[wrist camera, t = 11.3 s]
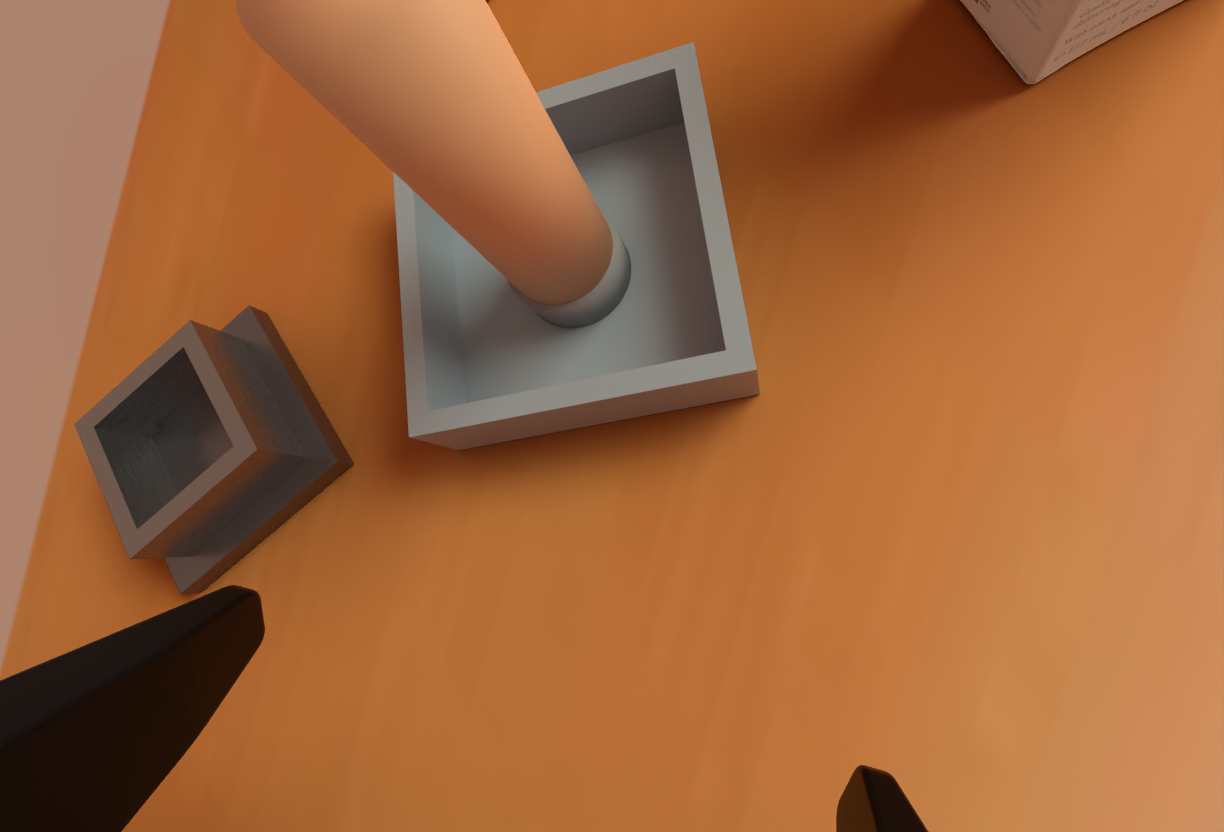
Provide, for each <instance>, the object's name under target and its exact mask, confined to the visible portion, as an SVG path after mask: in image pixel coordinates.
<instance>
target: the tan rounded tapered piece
mask: <svg viewBox="0 0 1224 832" xmlns="http://www.w3.org/2000/svg"><path fill="white" fill-rule="evenodd" d="M236 5H237V11H238V14H239V17H240V20H241V23H242V25H243V26H244V28H245V30H246V32H247V33H248V34H249V35H250V37H251V38H252V39H253V40H254V41H255V42H256V43H257V44H258V45H259V46H260V47H262V48H263V49H264V50H265V51H266V52H267V53H268V54H269V55H270V56H271V57H272V58H273V59H274V60H275V61H276V62H277V63H278V64H280V65H281V66H282V67H283V68H284V69H285V70H286V71H287V72H288V73H289V74H290V75H291V76H292V77H293V78H294V79H295V80H297V81H298V82H299V83H300V84H301V85H302V86H303V87H304V88H305V89H306V90H307V91H308V92H309V93H310V94H311V95H312V96H314V97H315V98H316V99H317V100H318V101H319V102H320V103H321V104H322V105H323V106H324V107H325V108H326V109H327V110H328V111H329V112H330V113H332V114H333V115H334V116H335V117H336V118H337V119H338V120H339V121H340V122H341V123H342V124H343V125H344V126H345V127H346V128H347V129H349V130H350V131H351V132H352V133H353V134H354V135H355V136H356V137H357V138H358V139H359V140H360V141H361V142H362V143H363V144H364V145H366V146H367V147H368V148H369V149H370V150H371V151H372V152H373V153H374V154H375V155H376V156H377V157H378V158H379V159H380V160H381V161H382V162H384V163H385V164H386V165H387V166H388V167H389V168H390V169H391V170H392V171H393V172H394V173H395V174H396V175H397V176H398V177H399V178H401V179H402V180H403V181H404V182H405V183H406V184H407V185H408V186H409V187H410V188H411V189H412V190H413V191H414V192H415V193H416V194H417V195H419V196H420V197H421V198H422V199H423V200H424V201H425V202H426V203H427V204H428V205H429V206H430V207H431V208H432V209H433V210H434V211H436V212H437V213H438V214H439V215H440V216H441V217H442V218H443V219H444V220H445V221H446V222H447V223H448V224H449V225H450V226H451V227H453V228H454V229H455V230H456V231H457V232H458V233H459V234H460V235H461V236H462V237H463V238H464V239H465V240H466V241H467V242H468V243H469V244H471V245H472V246H473V247H474V248H475V249H476V250H477V251H478V252H479V253H480V254H481V255H482V256H483V257H484V258H485V259H486V260H488V261H489V262H490V263H491V264H492V265H493V266H494V267H495V268H496V269H497V270H498V271H499V272H500V273H501V274H502V275H503V276H505V277H506V279H507V281H508V283H509V285H510V287H511V289H512V290H513V292H514V293H515V294H516V295H517V296H518V297H519V298H520V299H521V300H522V301H523V302H524V303H525V304H526V305H528V306H529V307H530V308H531V309H532V310H533V311H534V312H535V313H536V314H537V315H539V316H540V317H541V318H542V319H543V320H545V321H546V322H548V323H550V324H552V325H555V326H558V327H562V328H581V327H585V326H589V325H592V324H594V323H596V322H598V321H600V320H602V319H603V318H605V317H606V316H608V315H609V314H610V313H611V312H612V311H613V310H614V309H615V308H616V307H617V306H618V305H619V303H620V302H621V301H622V299H623V297H624V295H625V294H626V292H627V289H628V286H629V283H630V278H631V260H630V256H629V253H628V250H627V248H626V246H625V244H624V242H623V240H622V238H621V236H620V234H619V233H618V231H617V229H616V227H615V225H614V223H613V221H612V219H611V218H610V216H609V215H608V214H607V213H606V212H605V211H604V210H603V209H602V208H601V207H600V206H599V205H597V204H596V202H595V200H594V198H593V196H592V194H591V193H590V191H589V189H588V187H587V185H586V183H585V182H584V180H583V178H582V176H581V174H580V172H579V171H578V169H577V167H576V165H575V163H574V161H573V160H572V158H571V156H570V154H569V152H568V151H567V149H566V147H565V145H564V143H563V141H562V140H561V138H560V136H559V134H558V132H557V130H556V129H555V127H554V125H553V123H552V121H551V119H550V118H549V116H548V114H547V112H546V110H545V108H544V107H543V105H542V103H541V101H540V99H539V97H538V96H537V94H536V92H535V90H534V88H533V86H532V85H531V83H530V81H529V79H528V77H527V75H526V74H525V72H524V70H523V68H522V66H521V64H520V63H519V61H518V59H517V57H516V55H515V54H514V52H513V50H512V48H511V46H510V44H509V43H508V41H507V39H506V37H505V35H504V33H503V32H502V30H501V28H500V26H499V24H498V22H497V21H496V19H495V17H494V15H493V13H492V11H491V10H490V8H489V6H488V4H487V2H486V0H236Z"/></svg>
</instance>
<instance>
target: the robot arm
mask: <svg viewBox="0 0 1224 832" xmlns="http://www.w3.org/2000/svg"><path fill="white" fill-rule="evenodd" d="M264 633H265V625H264V619H263V612H262V605H261V598H260V595H259V594H258V593H257V592H256V591H254V590H251V589H248V588H244V587H241V586H236V585H231V586H227V587H224V588H221V589H219V590H217V591H214V592H212V593H209V594H207V595H205V596H202V597H200V598H197V599H195V600H193V601H190V602H188V603H185V604H183V605H181V606H178V607H176V608H173V609H171V610H169V611H166V612H164V613H161V614H159V615H157V616H154V617H152V618H149V619H147V620H145V621H142V622H140V623H137V624H135V625H133V626H130V627H128V628H126V629H123V630H121V631H118V632H116V633H114V634H111V635H109V636H106V637H104V638H102V639H99V640H97V641H94V642H92V643H90V644H87V645H85V646H82V647H80V648H78V649H75V650H73V651H70V652H68V653H66V654H63V655H61V656H58V657H56V658H54V659H51V660H49V661H46V662H44V663H42V664H39V665H37V666H34V667H32V668H30V669H27V670H25V671H22V672H20V673H18V674H15V675H13V676H10V677H8V678H6V679H3V680H1V681H0V832H121V831H122V830H123V829H124V828H125V826H126V825H127V824H128V823H129V822H130V820H131V819H132V818H133V817H134V815H135V814H136V813H137V812H138V811H139V809H140V808H141V807H142V806H143V804H144V803H145V802H146V801H147V799H148V798H149V797H150V796H151V795H152V793H153V792H154V791H155V790H156V788H157V787H158V786H159V785H160V783H161V782H162V781H163V780H164V779H165V777H166V776H167V775H168V774H169V772H170V771H171V770H172V769H173V768H174V766H175V765H176V764H177V763H178V761H179V760H180V759H181V758H182V756H183V755H184V754H185V753H186V751H187V750H188V749H189V748H190V746H191V745H192V744H193V742H194V741H195V740H196V738H197V737H198V736H199V734H200V733H201V732H202V730H203V729H204V727H205V726H206V725H207V723H208V722H209V720H210V719H211V717H212V716H213V714H214V713H215V711H216V710H217V708H218V707H219V705H220V704H221V702H222V701H223V699H224V698H225V697H226V695H227V694H228V692H229V691H230V689H231V688H232V686H233V685H234V683H235V682H236V680H237V679H238V677H239V676H240V674H241V673H242V671H243V670H244V668H245V667H246V666H247V664H248V663H249V661H250V660H251V658H252V657H253V655H254V654H255V652H256V651H257V649H258V648H259V646H260V644H261V642H262V640H263V637H264ZM836 832H928V830H927V829H926V827H925V826H924V824H923V822H922V821H921V819H920V818H919V816H918V815H917V813H916V811H915V810H914V808H913V807H912V805H911V803H910V802H909V800H908V799H907V797H906V796H905V794H904V792H903V791H902V789H901V788H900V786H899V784H898V783H897V781H896V780H895V778H894V777H893V776H892V775H891V774H889V773H888V772H886V771H883V770H879V769H876V768H872V767H869V766H865V765H860V766H858V767H857V768H856V769H855V771H854V772H853V774H852V776H851V778H850V780H849V782H848V784H847V786H846V788H845V790H844V792H843V794H842V796H841V798H840V800H839V803H838V808H837V817H836Z"/></svg>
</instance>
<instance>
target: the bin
mask: <svg viewBox="0 0 1224 832" xmlns="http://www.w3.org/2000/svg"><path fill="white" fill-rule="evenodd" d="M536 94H537V96H538V97H539V99H540V101H541V103H542V105H543V107H544V108H545V110H546V112H547V114H548V116H549V118H550V119H551V121H552V123H553V125H554V127H555V129H556V130H557V132H558V134H559V136H560V138H561V140H562V141H563V143H564V145H565V147H566V149H567V151H568V152H569V154H570V156H571V158H572V160H573V161H574V163H575V165H576V167H577V169H578V171H579V172H580V174H581V176H582V178H583V180H584V182H585V183H586V185H587V187H588V189H589V191H590V193H591V194H592V196H593V198H594V200H595V202H596V204H597V205H599V206H600V207H601V208H602V209H603V210H604V211H605V212H606V213H607V214H608V215H609V216H610V218H611V219H612V221H613V223H614V225H615V227H616V229H617V231H618V233H619V234H620V236H621V238H622V240H623V242H624V244H625V246H626V248H627V250H628V253H629V256H630V260H631V278H630V283H629V286H628V289H627V292H626V294H625V295H624V297H623V299H622V301H621V302H620V303H619V305H618V306H617V307H616V308H615V309H614V310H613V311H612V312H611V313H610V314H609V315H608V316H606V317H605V318H603V319H602V320H600V321H598V322H596V323H594V324H592V325H589V326H585V327H581V328H562V327H558V326H555V325H552V324H550V323H548V322H546V321H545V320H543V319H542V318H541V317H540V316H539V315H537V314H536V313H535V312H534V311H533V310H532V309H531V308H530V307H529V306H528V305H526V304H525V303H524V302H523V301H522V300H521V299H520V298H519V297H518V296H517V295H516V294H515V293H514V292H513V290H512V289H511V287H510V285H509V283H508V281H507V279H506V277H505V276H503V275H502V274H501V273H500V272H499V271H498V270H497V269H496V268H495V267H494V266H493V265H492V264H491V263H490V262H489V261H488V260H486V259H485V258H484V257H483V256H482V255H481V254H480V253H479V252H478V251H477V250H476V249H475V248H474V247H473V246H472V245H471V244H469V243H468V242H467V241H466V240H465V239H464V238H463V237H462V236H461V235H460V234H459V233H458V232H457V231H456V230H455V229H454V228H453V227H451V226H450V225H449V224H448V223H447V222H446V221H445V220H444V219H443V218H442V217H441V216H440V215H439V214H438V213H437V212H436V211H434V210H433V209H432V208H431V207H430V206H429V205H428V204H427V203H426V202H425V201H424V200H423V199H422V198H421V197H420V196H419V195H417V194H416V193H415V192H414V191H413V190H412V189H411V188H410V187H409V186H408V185H407V184H406V183H405V182H404V181H403V180H402V179H401V178H399V177H398V176H397V175H396V174H395V173H394V172H393V177H394V194H395V211H396V228H397V245H398V262H399V279H400V296H401V313H402V330H403V347H404V364H405V381H406V398H407V415H408V432H409V438H413V439H417V440H420V441H424V442H428V443H432V444H436V445H440V446H444V447H448V448H452V449H455V450H463V449H468V448H474V447H479V446H484V445H490V444H495V443H500V442H506V441H511V440H517V439H522V438H527V437H533V436H538V435H544V434H549V433H554V432H560V431H565V430H570V429H576V428H581V427H587V426H592V425H597V424H603V423H608V422H614V421H619V420H624V419H630V418H635V417H640V416H646V415H651V414H657V413H662V412H667V411H673V410H678V409H683V408H689V407H694V406H700V405H705V404H710V403H716V402H721V401H727V400H732V399H737V398H743V397H748V396H753V395H759V394H760V392H759V384H758V376H757V368H756V363H755V358H754V353H753V348H752V342H751V337H750V332H749V327H748V322H747V316H746V311H745V306H744V301H743V296H742V290H741V285H740V280H739V275H738V270H737V264H736V259H735V254H734V249H733V244H732V238H731V233H730V228H729V223H728V217H727V212H726V207H725V202H724V197H723V191H722V186H721V181H720V176H719V171H718V165H717V160H716V155H715V150H714V145H713V139H712V134H711V129H710V124H709V119H708V113H707V108H706V103H705V98H704V93H703V87H702V82H701V77H700V72H699V67H698V61H697V56H696V51H695V46H694V42H692V43H688V44H685V45H682V46H679V47H676V48H673V49H670V50H667V51H664V52H660V53H657V54H654V55H651V56H648V57H645V58H642V59H639V60H636V61H632V62H629V63H626V64H623V65H620V66H617V67H614V68H611V69H608V70H604V71H601V72H598V73H595V74H592V75H589V76H586V77H583V78H580V79H576V80H573V81H570V82H567V83H564V84H561V85H558V86H555V87H552V88H548V89H545V90H542V91H539V92H536Z"/></svg>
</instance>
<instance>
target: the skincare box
mask: <svg viewBox="0 0 1224 832" xmlns="http://www.w3.org/2000/svg"><path fill="white" fill-rule="evenodd" d="M960 1H961V2H962V3H963V4H964V5H965V7H966V8H967V9H968V10H969V12H970V13H971V14H972V15H973V17H974V18H975V19H976V20H977V22H978V23H979V24H980V26H981V27H982V28H983V29H984V31H985V32H986V33H987V34H988V36H989V38H990V39H991V40H992V42H993V43H994V45H995V46H996V47H997V48H998V50H999V51H1000V52H1001V53H1002V54H1003V56H1004V57H1005V58H1006V60H1007V61H1008V62H1009V63H1010V64H1011V66H1012V67H1013V68H1014V69H1015V70H1016V72H1017V73H1018V74H1019V76H1020V77H1021V78H1022V80H1023V81H1024V82H1025V83H1026V84H1036V83H1037V82H1039V81H1040V80H1042V79H1044V78H1045V77H1047V76H1048V75H1050V74H1052V73H1053V72H1055V71H1056V70H1058V69H1059V68H1061V67H1062V66H1064V65H1065V64H1067V63H1068V62H1070V61H1072V60H1074V59H1075V58H1077V57H1079V56H1081V55H1083V54H1084V53H1086V52H1088V51H1090V50H1091V49H1093V48H1095V47H1097V46H1099V45H1100V44H1102V43H1104V42H1106V41H1108V40H1109V39H1111V38H1113V37H1115V36H1117V35H1118V34H1120V33H1122V32H1124V31H1126V30H1128V29H1130V28H1132V27H1133V26H1135V25H1137V24H1139V23H1141V22H1143V21H1145V20H1147V19H1149V18H1151V17H1152V16H1154V15H1156V14H1158V13H1160V12H1162V11H1164V10H1166V9H1168V8H1170V7H1172V6H1174V5H1176V4H1178V3H1180V2H1182V1H1184V0H960Z"/></svg>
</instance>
